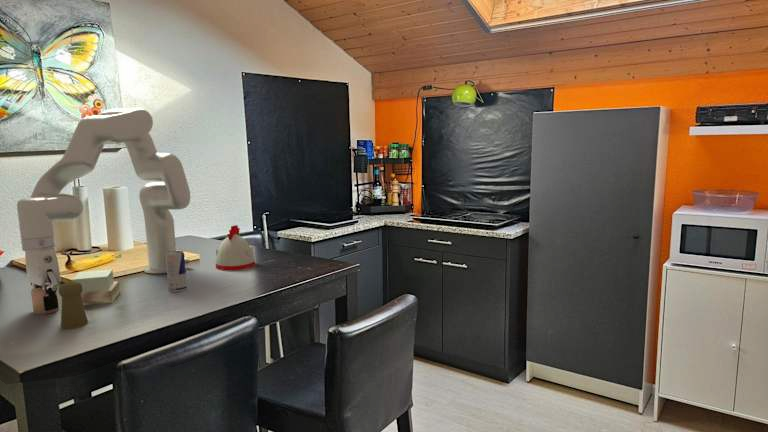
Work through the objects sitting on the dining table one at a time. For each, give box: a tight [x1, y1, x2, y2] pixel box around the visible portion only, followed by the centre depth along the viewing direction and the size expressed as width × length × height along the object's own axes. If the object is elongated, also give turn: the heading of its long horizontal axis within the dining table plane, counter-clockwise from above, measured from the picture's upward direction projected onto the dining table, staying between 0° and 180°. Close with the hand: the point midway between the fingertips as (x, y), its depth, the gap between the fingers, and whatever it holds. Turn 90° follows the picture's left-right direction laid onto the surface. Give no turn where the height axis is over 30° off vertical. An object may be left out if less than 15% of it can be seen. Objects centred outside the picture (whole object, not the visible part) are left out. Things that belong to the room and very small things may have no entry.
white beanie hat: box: [215, 224, 256, 271], centre depth 192 cm, size 14×14×15 cm
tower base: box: [81, 280, 121, 306], centre depth 155 cm, size 11×11×4 cm
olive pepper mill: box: [58, 281, 89, 330], centre depth 132 cm, size 6×6×11 cm
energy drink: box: [166, 250, 188, 293], centre depth 162 cm, size 5×5×12 cm
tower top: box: [71, 269, 114, 292], centre depth 154 cm, size 9×9×4 cm
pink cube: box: [30, 287, 60, 315], centre depth 144 cm, size 6×6×6 cm
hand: (46, 306), depth 145 cm, fingers closed on pink cube, 6 cm apart
